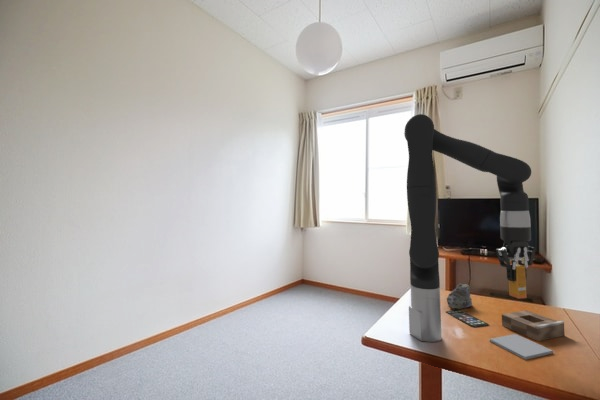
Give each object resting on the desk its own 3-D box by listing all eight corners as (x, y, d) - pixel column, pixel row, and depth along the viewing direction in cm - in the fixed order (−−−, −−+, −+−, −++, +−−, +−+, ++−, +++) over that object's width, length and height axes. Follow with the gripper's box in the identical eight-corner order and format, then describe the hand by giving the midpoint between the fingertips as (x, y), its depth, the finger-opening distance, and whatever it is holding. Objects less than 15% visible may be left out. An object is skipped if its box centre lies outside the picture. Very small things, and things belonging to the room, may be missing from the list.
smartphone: (460, 309, 116) (490, 324, 101) (460, 311, 116) (490, 326, 101) (444, 311, 114) (472, 326, 100) (444, 312, 114) (472, 328, 100)
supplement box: (528, 298, 84) (526, 265, 85) (518, 299, 84) (515, 266, 84) (518, 294, 88) (516, 263, 88) (508, 295, 87) (506, 264, 87)
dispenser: (537, 341, 89) (537, 326, 89) (502, 325, 101) (501, 312, 101) (564, 335, 92) (564, 321, 92) (526, 320, 104) (526, 308, 104)
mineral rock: (449, 311, 115) (448, 287, 115) (437, 302, 125) (436, 280, 126) (481, 311, 114) (480, 286, 114) (466, 301, 125) (465, 279, 125)
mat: (525, 359, 79) (524, 356, 79) (489, 341, 90) (489, 338, 90) (552, 353, 82) (552, 350, 82) (515, 336, 93) (515, 333, 93)
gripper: (509, 227, 81) (511, 285, 81) (544, 225, 84) (547, 281, 84) (486, 225, 88) (488, 279, 88) (519, 223, 92) (521, 275, 92)
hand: (517, 279), depth 86 cm, fingers closed on supplement box, 3 cm apart
